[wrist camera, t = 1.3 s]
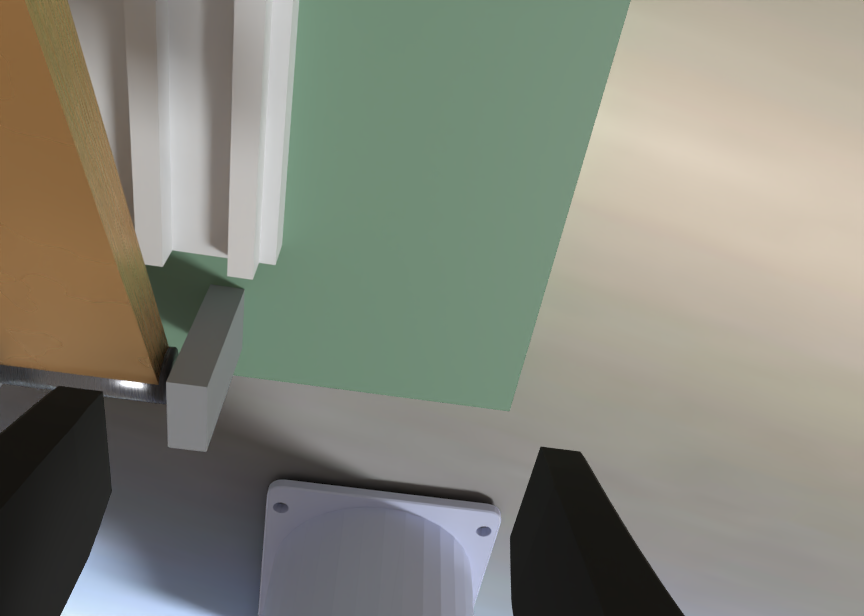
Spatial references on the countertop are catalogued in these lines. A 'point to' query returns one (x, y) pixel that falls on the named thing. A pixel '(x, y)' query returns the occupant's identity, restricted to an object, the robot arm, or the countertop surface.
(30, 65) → the orange brown flat bar
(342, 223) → the board
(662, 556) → the countertop surface
